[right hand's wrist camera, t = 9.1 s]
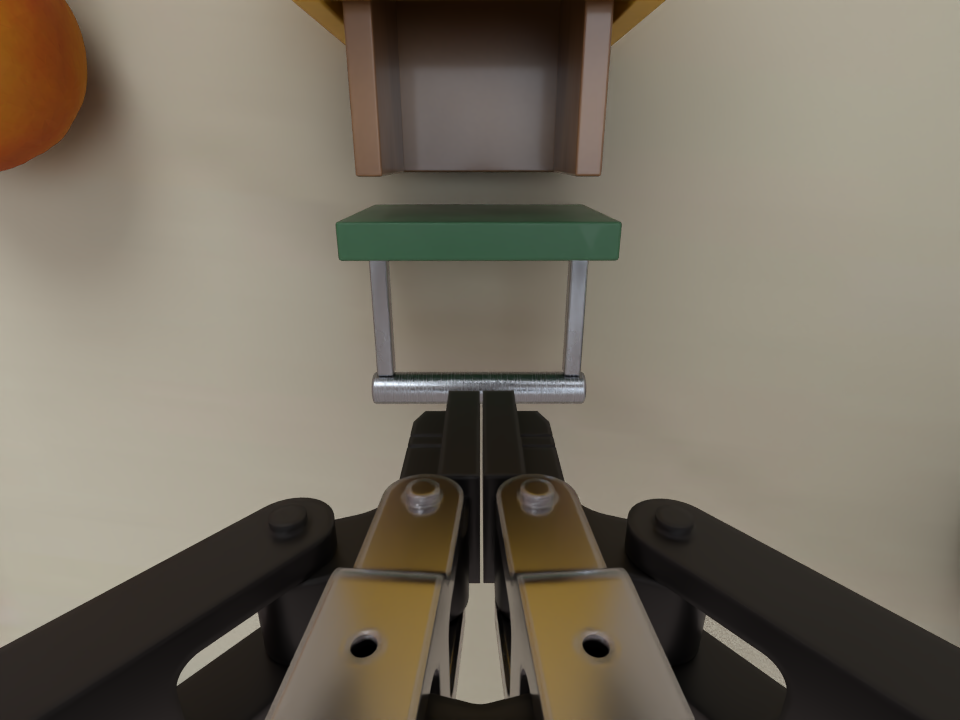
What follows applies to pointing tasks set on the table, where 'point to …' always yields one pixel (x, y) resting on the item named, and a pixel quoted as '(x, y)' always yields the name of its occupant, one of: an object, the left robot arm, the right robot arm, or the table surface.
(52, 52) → the fruit
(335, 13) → the cabinet
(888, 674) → the right robot arm
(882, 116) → the table surface
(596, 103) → the drawer
